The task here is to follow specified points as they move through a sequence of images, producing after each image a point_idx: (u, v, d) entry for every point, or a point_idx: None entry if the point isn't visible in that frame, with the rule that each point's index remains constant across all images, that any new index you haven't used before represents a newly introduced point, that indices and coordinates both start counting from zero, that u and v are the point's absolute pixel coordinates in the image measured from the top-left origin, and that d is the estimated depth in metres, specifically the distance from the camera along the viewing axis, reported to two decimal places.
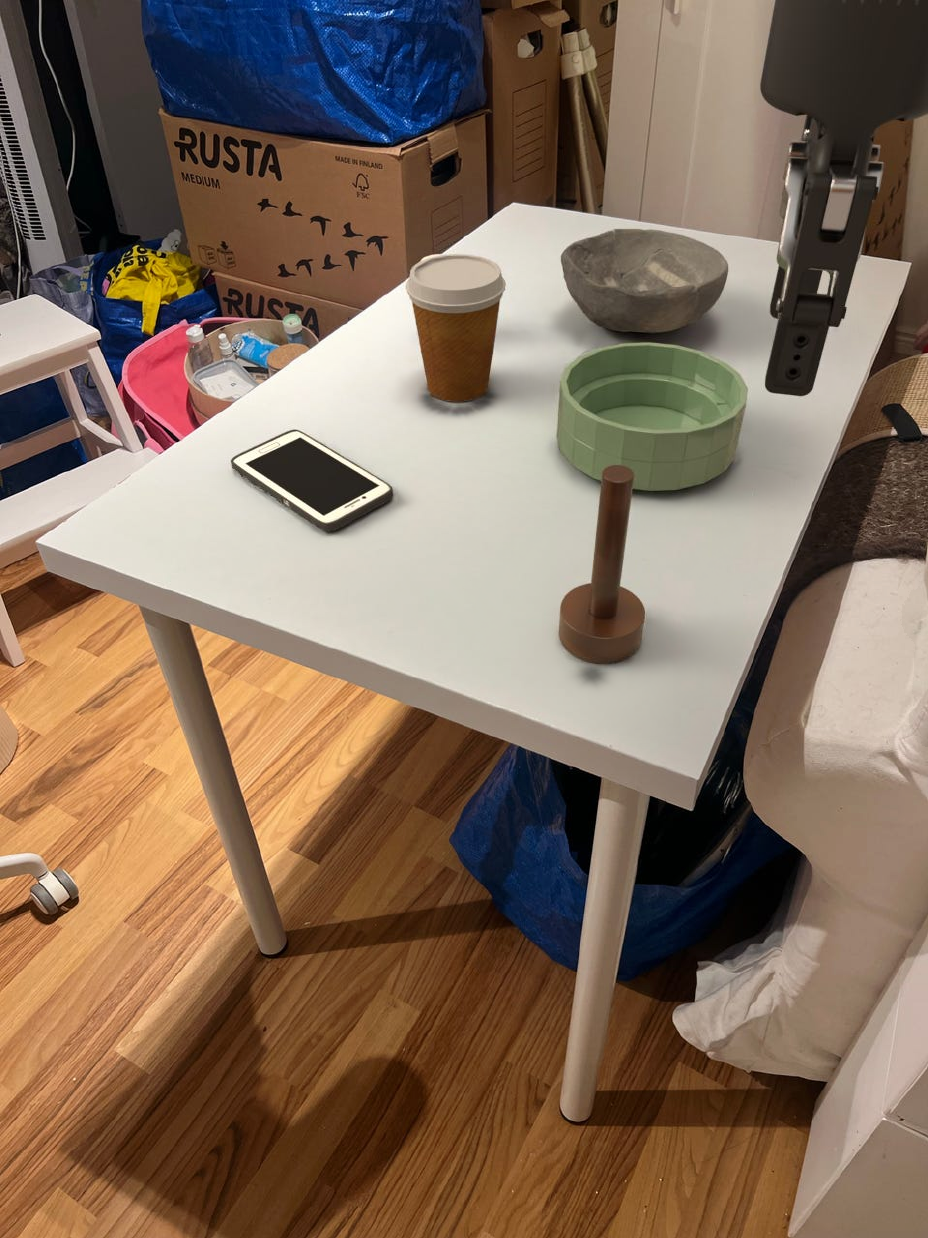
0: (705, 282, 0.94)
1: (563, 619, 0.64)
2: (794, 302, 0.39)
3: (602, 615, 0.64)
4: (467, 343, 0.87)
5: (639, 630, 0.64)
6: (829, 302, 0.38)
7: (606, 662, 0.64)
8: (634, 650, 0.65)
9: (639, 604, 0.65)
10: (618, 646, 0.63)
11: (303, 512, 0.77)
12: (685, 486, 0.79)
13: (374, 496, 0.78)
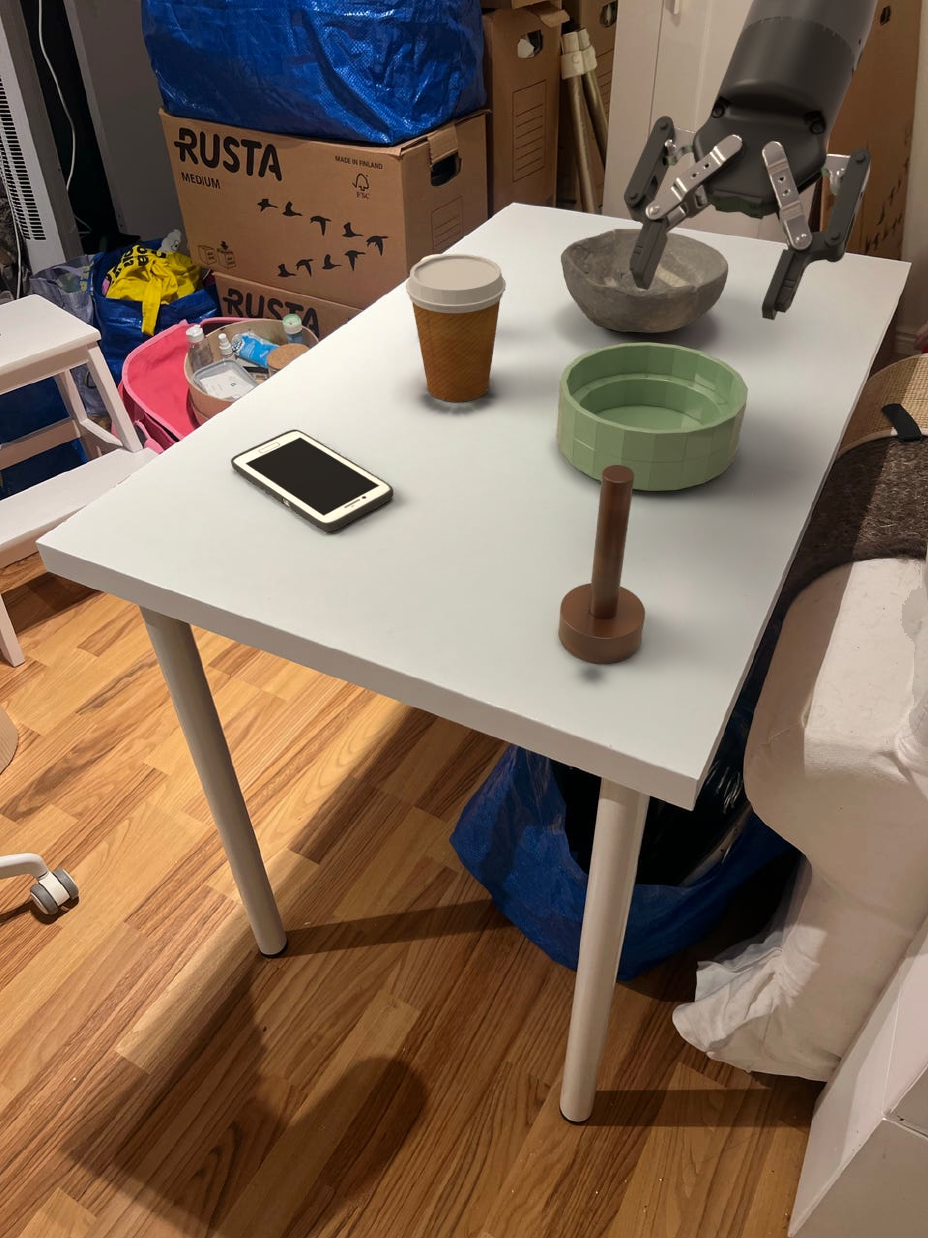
0: (705, 282, 0.94)
1: (563, 619, 0.64)
2: None
3: (602, 615, 0.64)
4: (467, 343, 0.87)
5: (639, 630, 0.64)
6: None
7: (606, 662, 0.64)
8: (634, 650, 0.65)
9: (639, 604, 0.65)
10: (618, 646, 0.63)
11: (303, 512, 0.77)
12: (685, 486, 0.79)
13: (374, 496, 0.78)
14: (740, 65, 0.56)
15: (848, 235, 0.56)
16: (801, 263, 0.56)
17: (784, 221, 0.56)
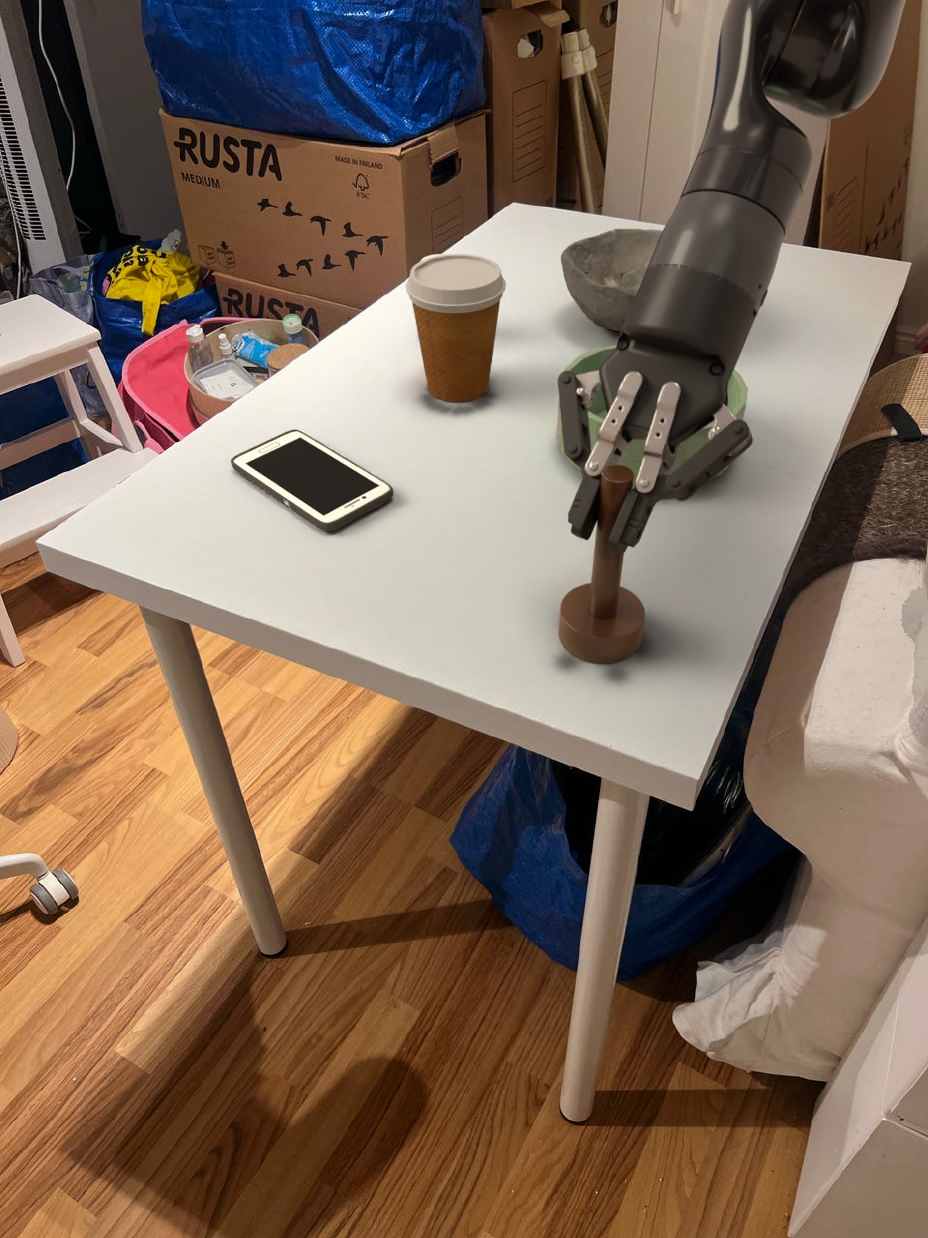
0: None
1: (563, 619, 0.64)
2: None
3: (602, 615, 0.64)
4: (467, 343, 0.87)
5: (639, 630, 0.64)
6: None
7: (606, 662, 0.64)
8: (634, 650, 0.65)
9: (639, 604, 0.65)
10: (618, 646, 0.63)
11: (303, 512, 0.77)
12: None
13: (374, 496, 0.78)
14: (640, 307, 0.56)
15: (699, 485, 0.57)
16: (645, 505, 0.57)
17: (644, 458, 0.57)
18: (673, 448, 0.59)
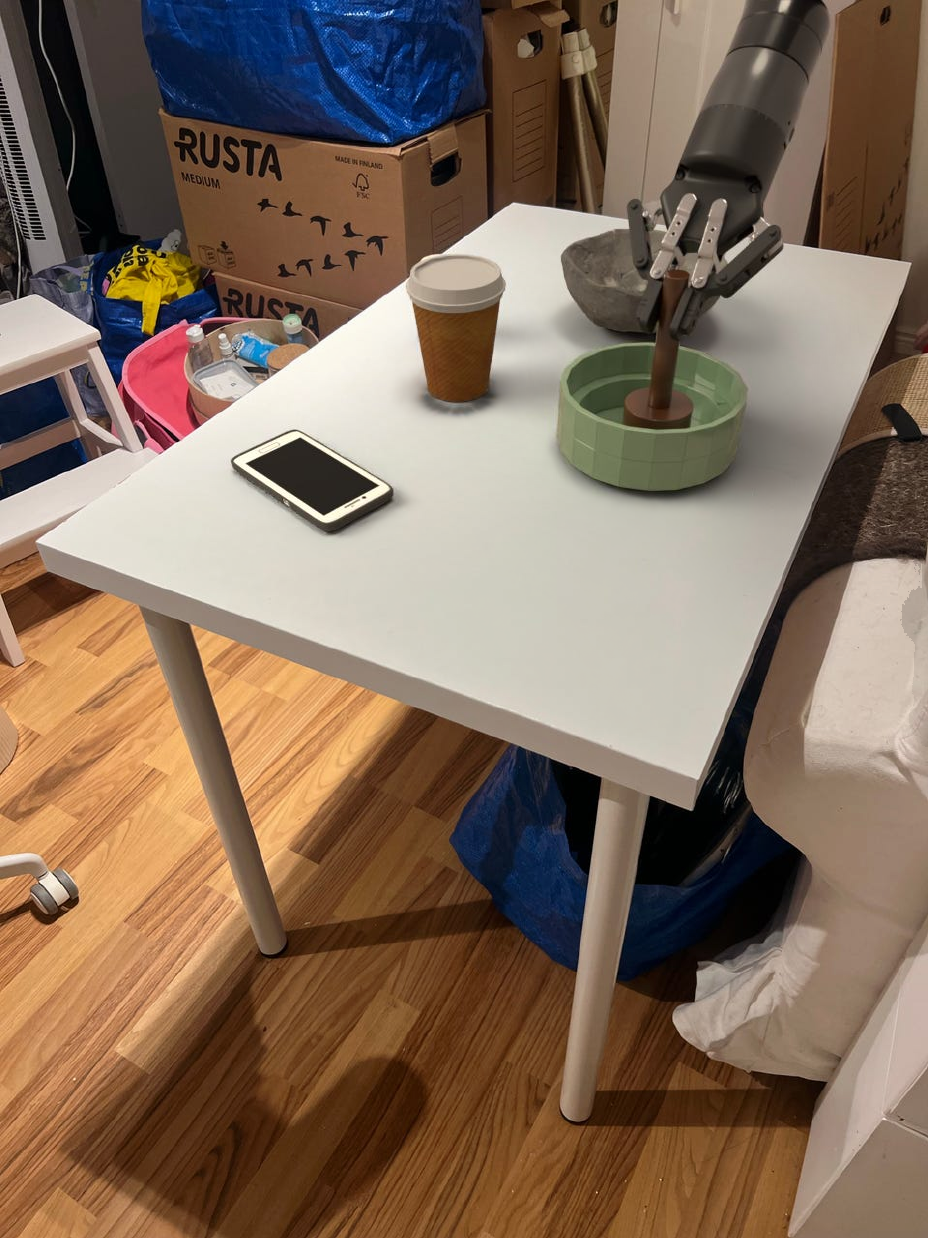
0: None
1: (627, 409, 0.80)
2: None
3: (659, 405, 0.79)
4: (467, 343, 0.87)
5: (689, 417, 0.79)
6: None
7: None
8: None
9: (688, 399, 0.81)
10: (673, 428, 0.79)
11: (303, 512, 0.77)
12: (685, 486, 0.79)
13: (374, 496, 0.78)
14: (695, 140, 0.71)
15: (740, 283, 0.73)
16: (699, 298, 0.72)
17: (697, 261, 0.72)
18: (719, 258, 0.74)
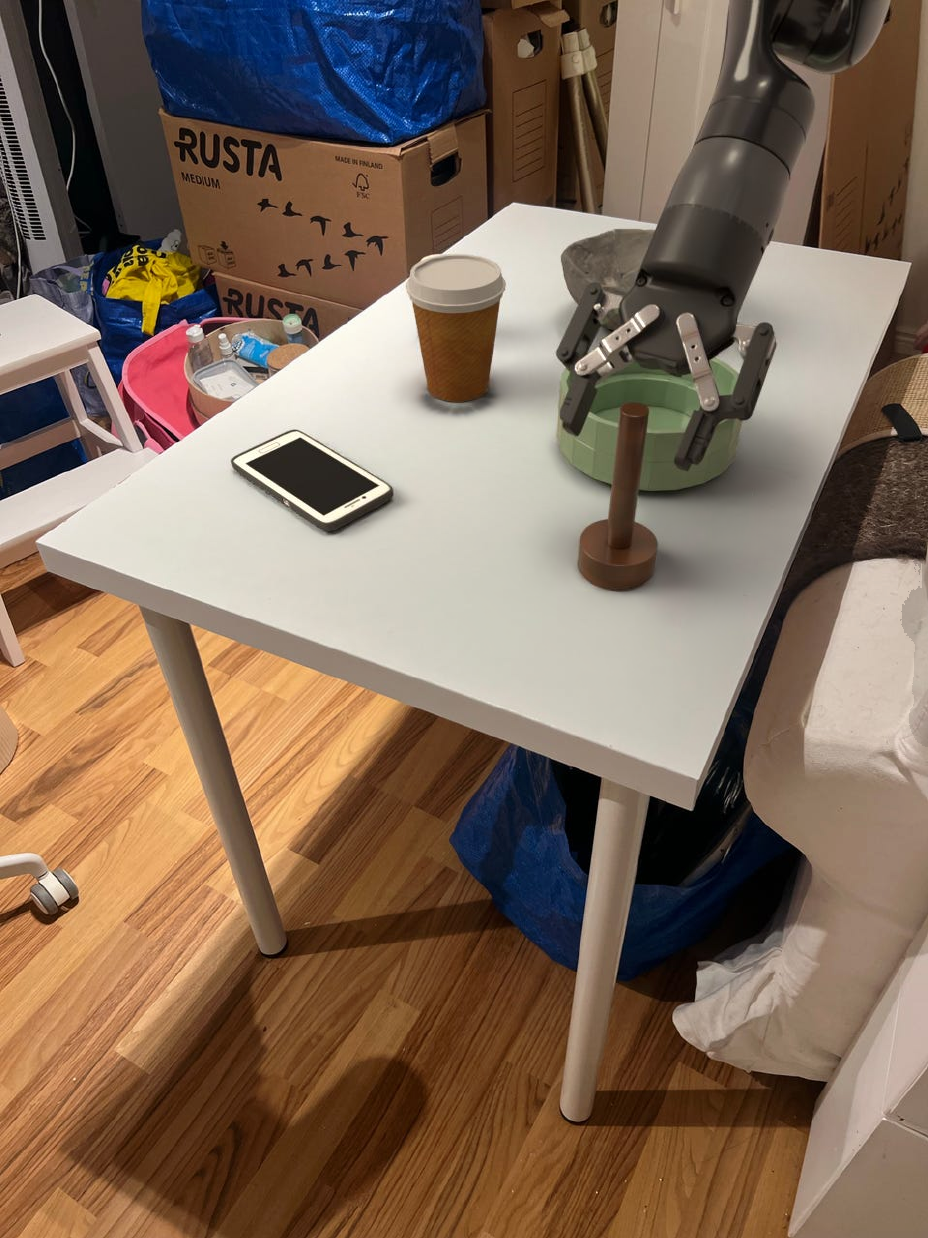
0: None
1: (582, 549, 0.70)
2: None
3: (618, 545, 0.70)
4: (467, 343, 0.87)
5: (652, 559, 0.70)
6: None
7: (622, 589, 0.70)
8: (647, 579, 0.71)
9: (652, 537, 0.71)
10: (633, 573, 0.69)
11: (303, 512, 0.77)
12: (685, 486, 0.79)
13: (374, 496, 0.78)
14: (658, 244, 0.61)
15: (755, 397, 0.61)
16: (710, 423, 0.61)
17: (695, 384, 0.61)
18: None
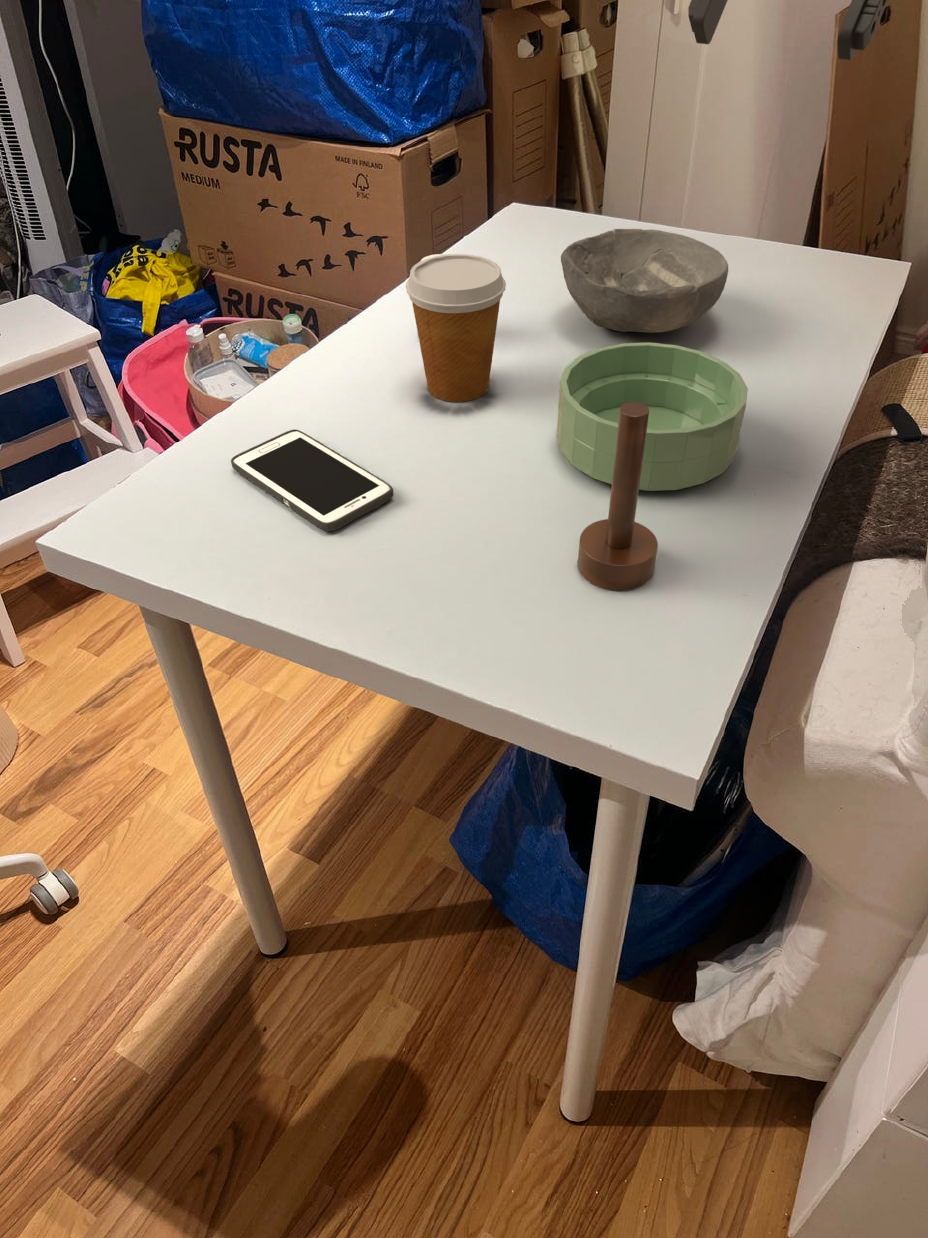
0: (705, 282, 0.94)
1: (582, 549, 0.70)
2: None
3: (618, 545, 0.70)
4: (467, 343, 0.87)
5: (652, 559, 0.70)
6: None
7: (622, 589, 0.70)
8: (647, 579, 0.71)
9: (652, 537, 0.71)
10: (633, 573, 0.69)
11: (303, 512, 0.77)
12: (685, 486, 0.79)
13: (374, 496, 0.78)
14: None
15: None
16: None
17: None
18: None
